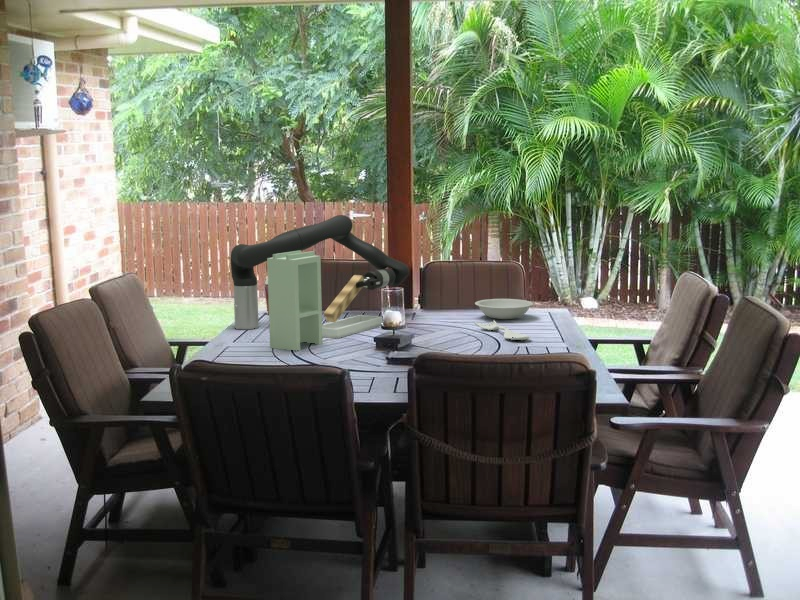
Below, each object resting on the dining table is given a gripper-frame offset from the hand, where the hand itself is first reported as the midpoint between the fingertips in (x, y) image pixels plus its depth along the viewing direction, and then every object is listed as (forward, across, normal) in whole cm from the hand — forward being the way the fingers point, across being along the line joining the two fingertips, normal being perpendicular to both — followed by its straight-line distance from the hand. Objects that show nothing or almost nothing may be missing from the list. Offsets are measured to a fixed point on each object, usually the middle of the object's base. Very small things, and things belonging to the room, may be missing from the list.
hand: (352, 284), depth 351 cm
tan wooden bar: (+4, 0, +6) cm, 7 cm away
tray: (+3, 0, +18) cm, 18 cm away
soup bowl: (-51, +41, +18) cm, 68 cm away
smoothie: (-14, -51, +18) cm, 56 cm away
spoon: (-18, +56, +18) cm, 62 cm away
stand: (+36, 0, +17) cm, 40 cm away
